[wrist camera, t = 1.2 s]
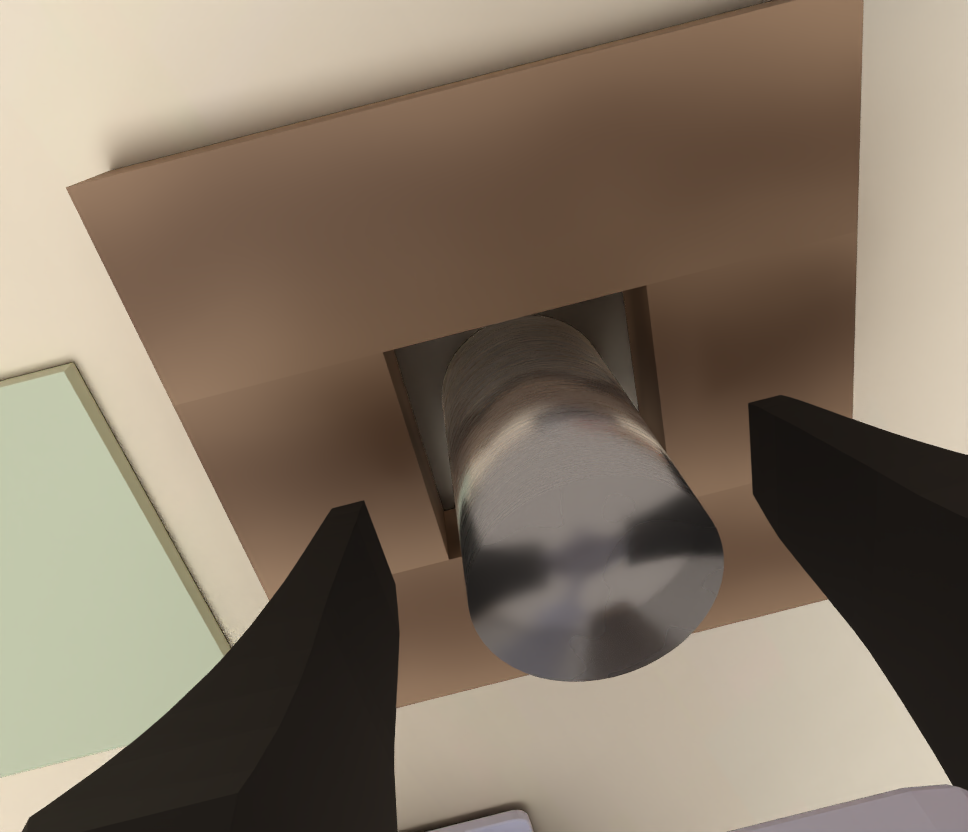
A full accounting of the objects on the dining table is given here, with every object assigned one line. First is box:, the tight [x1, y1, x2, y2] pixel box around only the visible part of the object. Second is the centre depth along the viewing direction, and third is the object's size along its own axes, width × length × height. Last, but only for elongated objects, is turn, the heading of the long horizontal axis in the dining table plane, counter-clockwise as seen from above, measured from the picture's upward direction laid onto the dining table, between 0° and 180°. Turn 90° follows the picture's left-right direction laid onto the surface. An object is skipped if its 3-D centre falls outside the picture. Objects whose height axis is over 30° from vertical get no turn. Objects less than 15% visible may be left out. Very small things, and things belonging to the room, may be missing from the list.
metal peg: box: [442, 315, 724, 682], centre depth 14 cm, size 4×4×7 cm
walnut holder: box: [66, 0, 863, 708], centre depth 16 cm, size 14×14×2 cm
